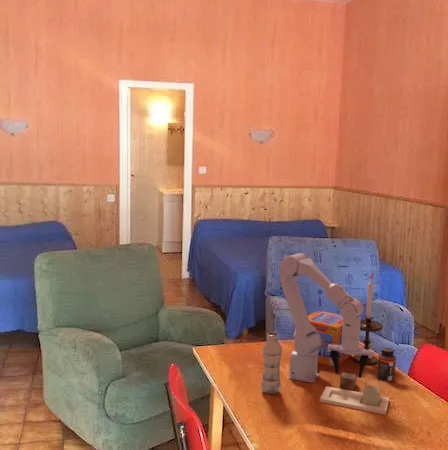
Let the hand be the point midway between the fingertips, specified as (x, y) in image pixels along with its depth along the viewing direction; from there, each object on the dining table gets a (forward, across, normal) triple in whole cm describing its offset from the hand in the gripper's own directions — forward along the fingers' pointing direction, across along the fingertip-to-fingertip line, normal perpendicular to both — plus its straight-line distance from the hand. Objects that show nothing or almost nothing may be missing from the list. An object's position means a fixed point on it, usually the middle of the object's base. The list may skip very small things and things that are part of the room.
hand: (348, 374), depth 186 cm
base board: (+5, +4, -11) cm, 13 cm away
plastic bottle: (+5, -23, -13) cm, 27 cm away
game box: (+6, -13, +27) cm, 31 cm away
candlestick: (+6, +2, +30) cm, 31 cm away
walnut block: (+5, 0, 0) cm, 5 cm away
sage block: (+4, +9, -11) cm, 15 cm away
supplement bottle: (+6, +11, +14) cm, 19 cm away
